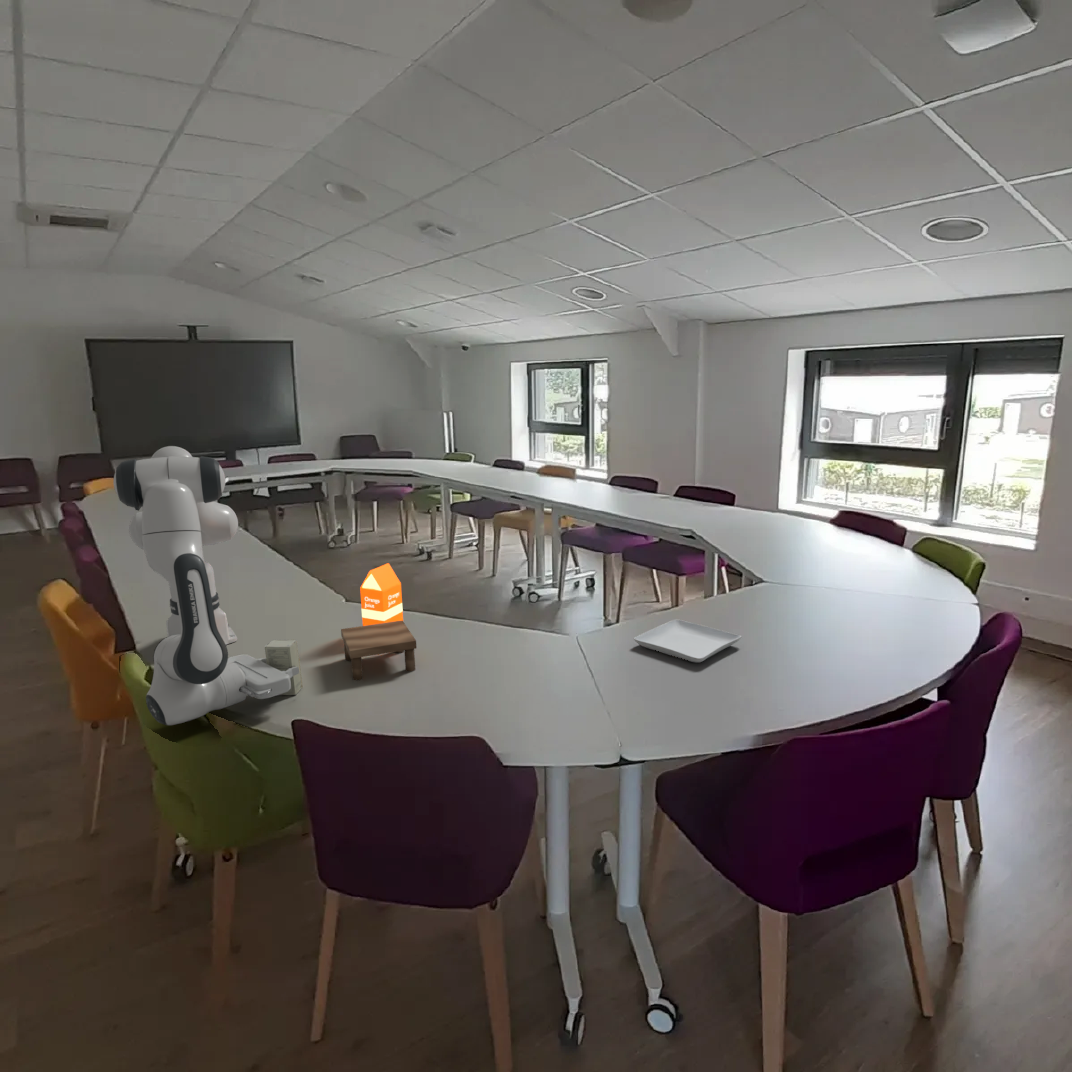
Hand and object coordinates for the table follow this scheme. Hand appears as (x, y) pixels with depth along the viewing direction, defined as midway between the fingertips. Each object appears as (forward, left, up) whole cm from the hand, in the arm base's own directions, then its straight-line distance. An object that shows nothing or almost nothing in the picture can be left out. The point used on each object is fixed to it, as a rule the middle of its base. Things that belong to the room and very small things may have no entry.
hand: (287, 664), depth 164 cm
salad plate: (+15, +100, -7) cm, 102 cm away
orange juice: (-28, +27, -7) cm, 39 cm away
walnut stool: (-7, +22, -7) cm, 24 cm away
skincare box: (0, -1, -7) cm, 7 cm away
